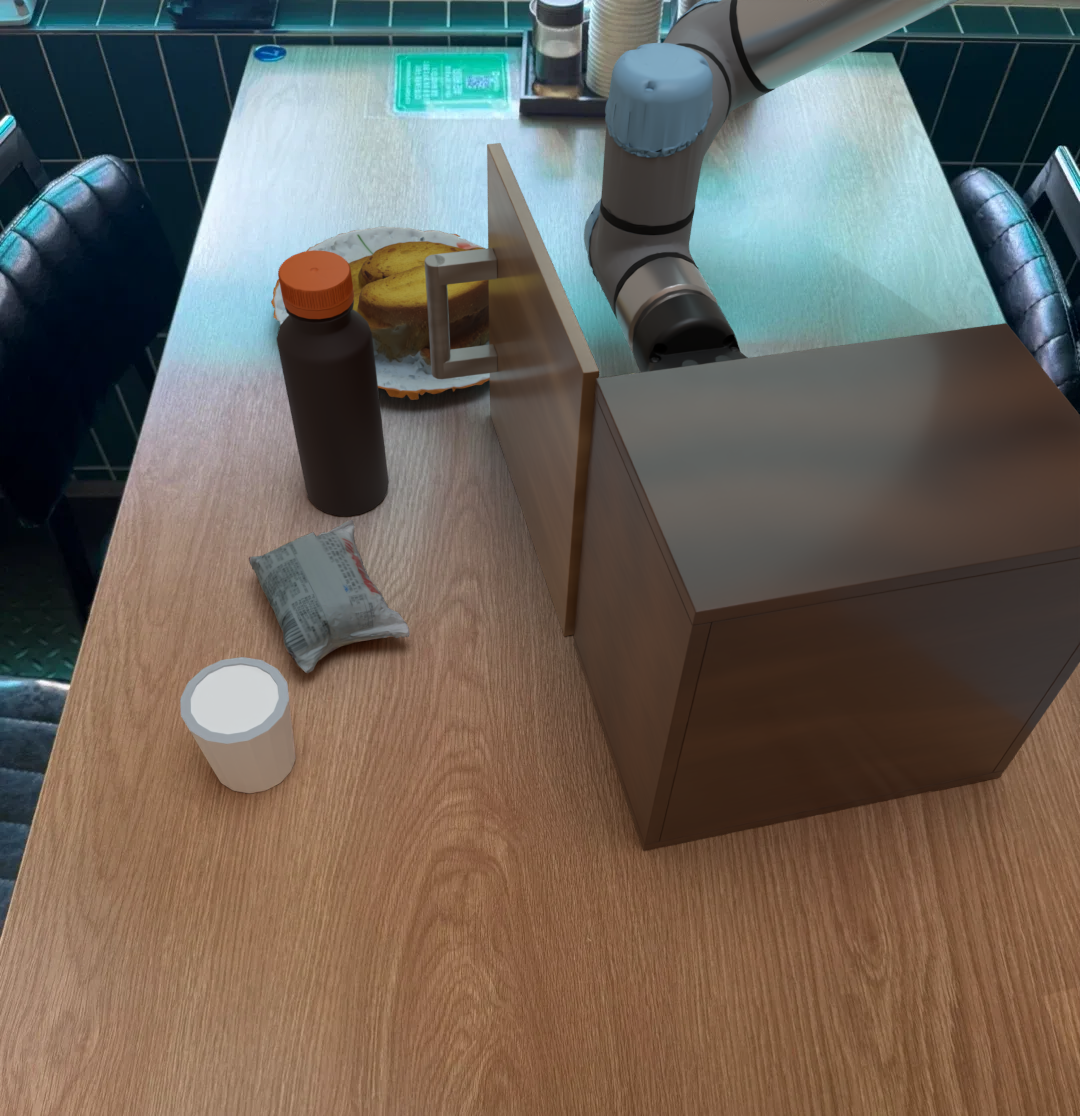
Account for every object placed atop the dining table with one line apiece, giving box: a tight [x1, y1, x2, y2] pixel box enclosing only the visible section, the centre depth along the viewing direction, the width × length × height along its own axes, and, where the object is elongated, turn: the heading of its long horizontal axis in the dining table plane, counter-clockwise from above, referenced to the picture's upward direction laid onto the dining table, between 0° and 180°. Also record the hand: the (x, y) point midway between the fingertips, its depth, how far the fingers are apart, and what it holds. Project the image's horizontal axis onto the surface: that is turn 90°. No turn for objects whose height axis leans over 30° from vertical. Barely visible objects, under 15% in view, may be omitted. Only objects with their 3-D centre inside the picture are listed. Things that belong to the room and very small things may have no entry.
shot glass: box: [179, 656, 297, 794], centre depth 73 cm, size 7×7×7 cm
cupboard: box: [573, 322, 1080, 852], centre depth 70 cm, size 18×26×24 cm
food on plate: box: [270, 226, 490, 401], centre depth 101 cm, size 26×25×7 cm
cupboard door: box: [425, 142, 600, 637], centre depth 80 cm, size 6×26×24 cm, turn 14°
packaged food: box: [248, 519, 410, 674], centre depth 81 cm, size 9×12×5 cm
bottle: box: [276, 250, 389, 517], centre depth 83 cm, size 7×7×20 cm
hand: (780, 537), depth 73 cm, fingers closed on coffee box, 8 cm apart
